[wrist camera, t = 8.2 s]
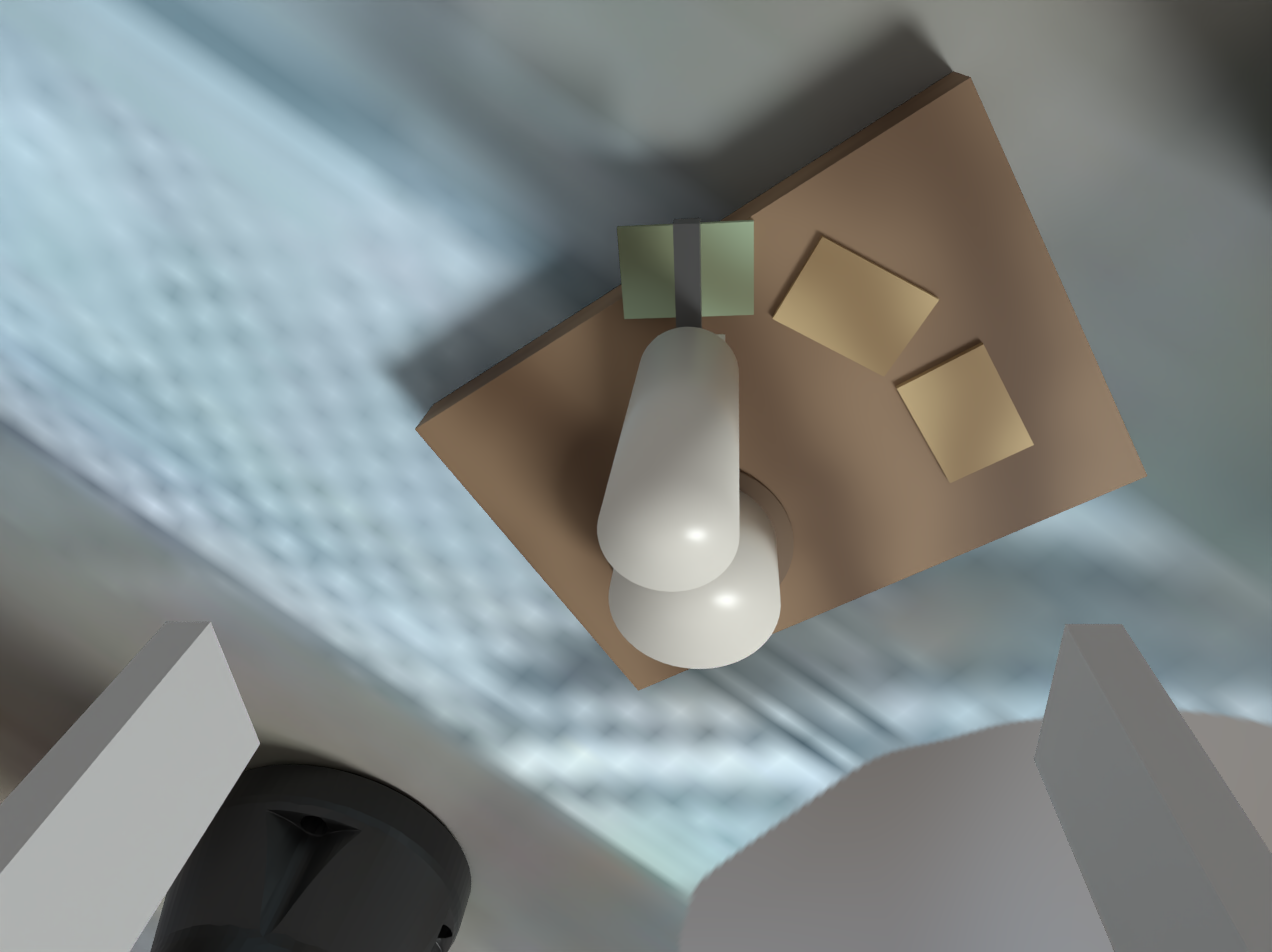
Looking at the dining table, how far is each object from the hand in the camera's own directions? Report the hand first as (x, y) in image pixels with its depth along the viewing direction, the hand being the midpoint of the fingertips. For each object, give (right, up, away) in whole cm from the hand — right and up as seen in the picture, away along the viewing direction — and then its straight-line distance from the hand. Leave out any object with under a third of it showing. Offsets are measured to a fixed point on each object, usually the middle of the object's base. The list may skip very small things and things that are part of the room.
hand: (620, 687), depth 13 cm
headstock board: (+5, +5, +16) cm, 18 cm away
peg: (+2, +5, +14) cm, 15 cm away
